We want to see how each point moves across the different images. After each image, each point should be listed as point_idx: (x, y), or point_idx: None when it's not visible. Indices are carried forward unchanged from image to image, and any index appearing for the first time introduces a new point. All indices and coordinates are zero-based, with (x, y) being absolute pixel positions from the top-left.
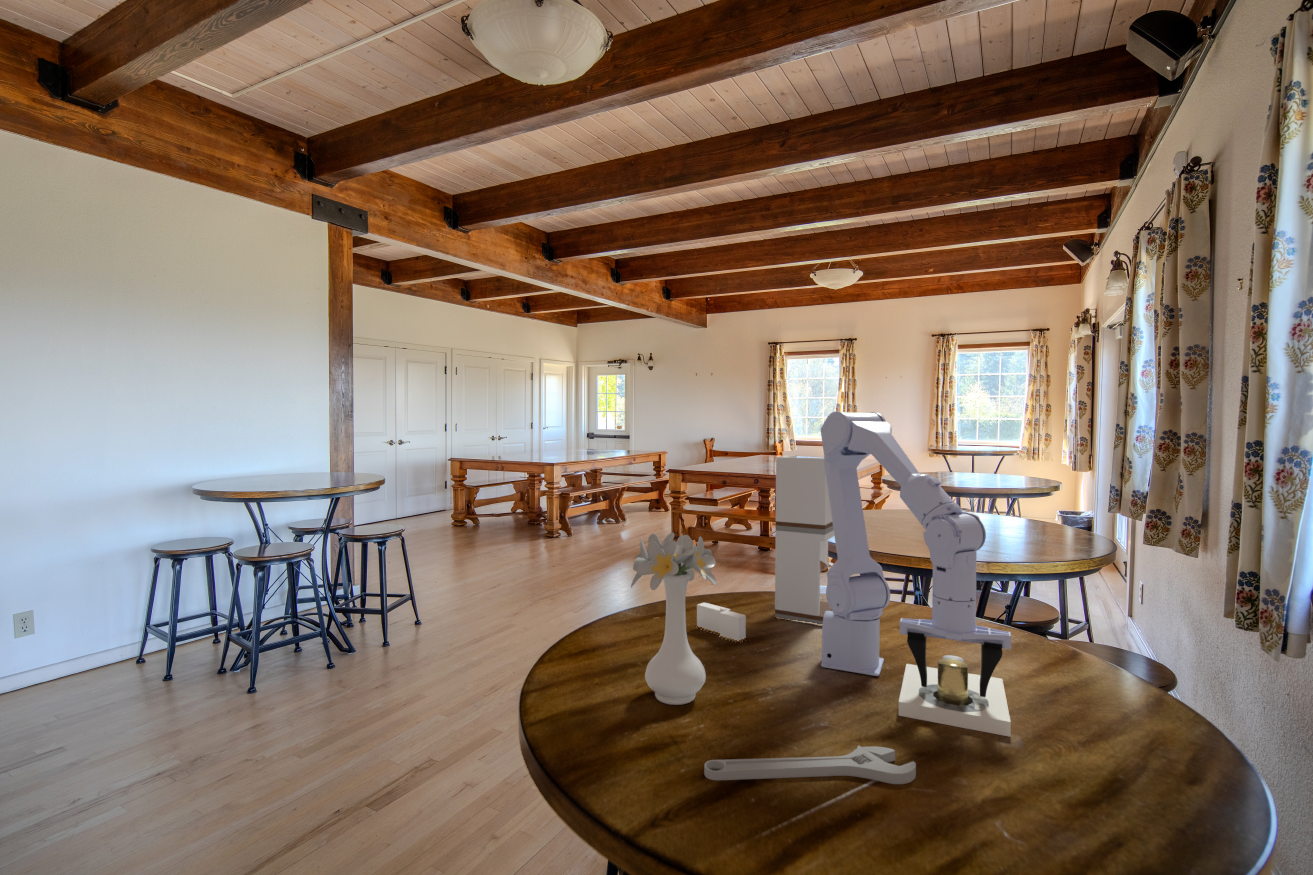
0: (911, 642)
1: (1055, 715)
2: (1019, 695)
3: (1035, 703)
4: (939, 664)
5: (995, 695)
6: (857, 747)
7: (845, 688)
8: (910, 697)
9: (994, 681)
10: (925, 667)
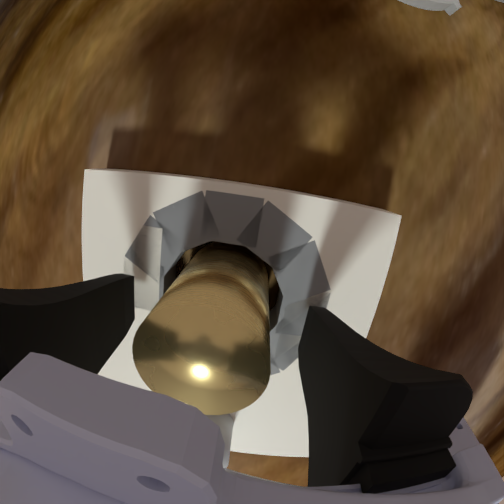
0: (465, 386)
1: None
2: None
3: None
4: (266, 349)
5: None
6: (458, 4)
7: (460, 330)
8: (359, 261)
9: None
10: (325, 350)
